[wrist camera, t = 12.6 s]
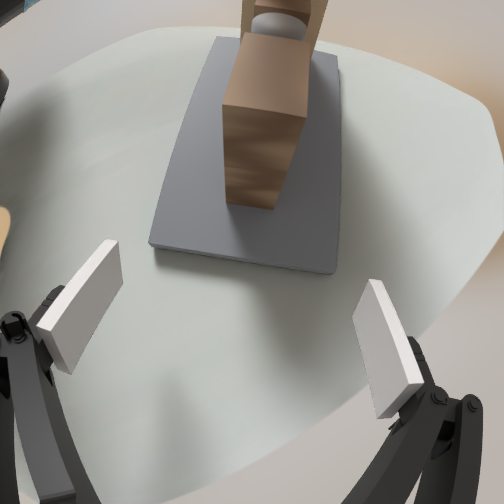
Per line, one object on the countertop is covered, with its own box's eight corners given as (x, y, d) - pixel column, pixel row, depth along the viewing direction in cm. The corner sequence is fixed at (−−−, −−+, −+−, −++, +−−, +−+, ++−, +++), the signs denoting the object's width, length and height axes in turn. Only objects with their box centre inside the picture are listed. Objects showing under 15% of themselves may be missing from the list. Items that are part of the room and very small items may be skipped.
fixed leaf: (238, 138, 23) (244, 32, 13) (255, 65, 26) (265, -24, 15) (281, 145, 23) (310, 43, 13) (290, 70, 26) (310, -16, 15)
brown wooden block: (225, 202, 22) (221, 104, 11) (244, 111, 24) (252, 9, 13) (273, 210, 22) (306, 117, 11) (284, 118, 24) (310, 18, 14)
